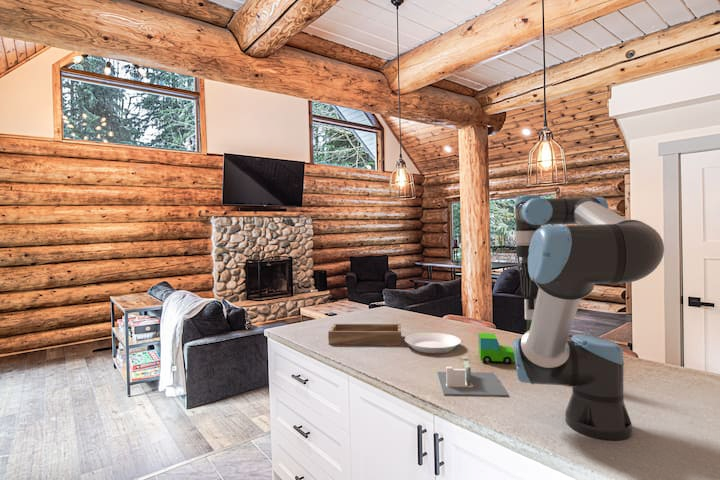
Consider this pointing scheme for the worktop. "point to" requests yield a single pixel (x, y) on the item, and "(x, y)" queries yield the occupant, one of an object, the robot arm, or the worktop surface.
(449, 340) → the white plate
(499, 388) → the mat
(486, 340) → the toy car
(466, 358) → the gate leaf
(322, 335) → the worktop surface
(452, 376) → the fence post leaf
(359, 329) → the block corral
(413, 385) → the worktop surface
